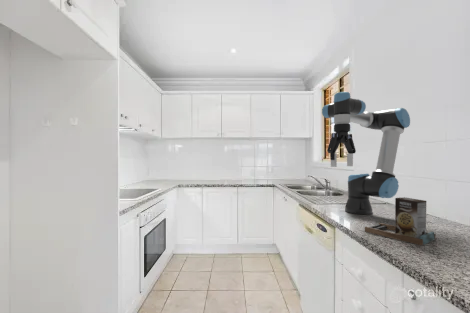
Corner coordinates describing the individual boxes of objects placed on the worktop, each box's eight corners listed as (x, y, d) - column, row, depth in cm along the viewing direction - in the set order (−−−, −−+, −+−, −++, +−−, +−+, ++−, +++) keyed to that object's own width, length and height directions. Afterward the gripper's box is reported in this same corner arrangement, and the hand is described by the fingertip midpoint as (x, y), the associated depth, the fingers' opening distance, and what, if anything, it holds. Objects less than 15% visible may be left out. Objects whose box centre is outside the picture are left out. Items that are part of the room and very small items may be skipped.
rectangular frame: (380, 226, 123) (380, 220, 123) (435, 239, 104) (435, 231, 104) (364, 231, 115) (364, 224, 115) (421, 245, 97) (421, 237, 97)
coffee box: (394, 235, 109) (394, 197, 109) (404, 234, 111) (404, 196, 111) (416, 242, 100) (416, 201, 100) (427, 240, 103) (427, 200, 103)
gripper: (349, 126, 138) (349, 165, 138) (319, 122, 124) (319, 166, 124) (363, 124, 131) (363, 166, 131) (333, 121, 118) (333, 167, 117)
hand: (342, 166), depth 128 cm, fingers open, 13 cm apart
